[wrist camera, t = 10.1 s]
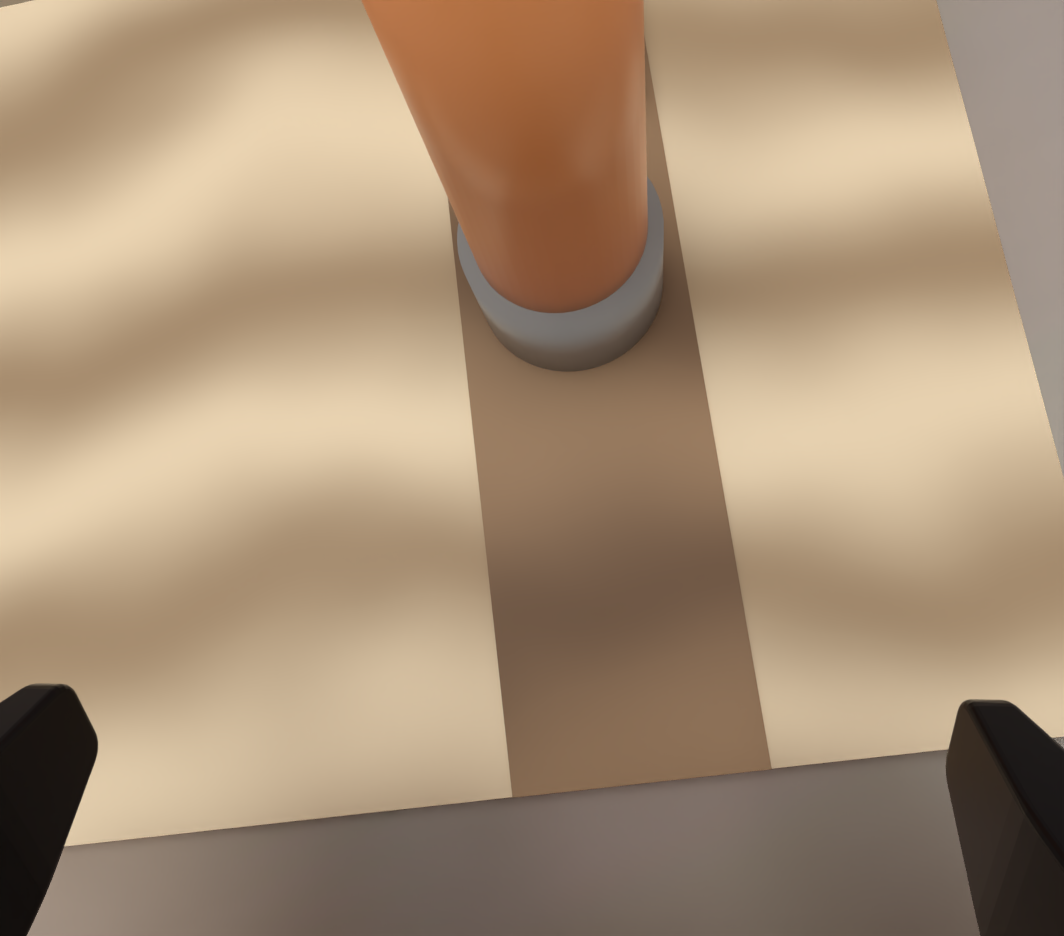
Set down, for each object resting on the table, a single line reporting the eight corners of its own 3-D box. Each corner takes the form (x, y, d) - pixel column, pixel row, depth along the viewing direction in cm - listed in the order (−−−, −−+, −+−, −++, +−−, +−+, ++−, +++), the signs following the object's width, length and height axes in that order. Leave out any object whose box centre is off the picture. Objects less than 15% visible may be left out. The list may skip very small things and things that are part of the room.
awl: (642, 386, 19) (615, -185, 6) (462, 354, 20) (115, -216, 7) (679, 215, 20) (719, -600, 7) (504, 190, 20) (257, -590, 8)
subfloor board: (1091, 724, 18) (1133, 729, 16) (-19, 847, 20) (-74, 862, 19) (872, -129, 23) (888, -187, 21) (1, 53, 25) (-42, 13, 24)
